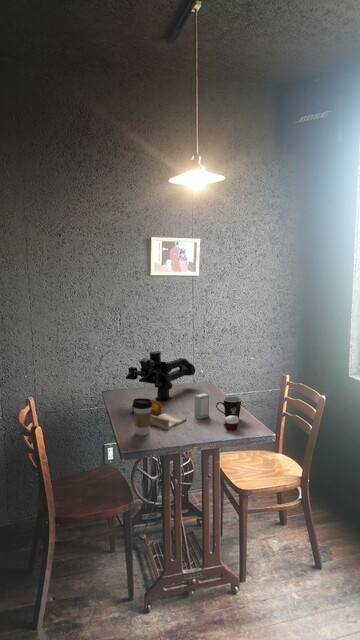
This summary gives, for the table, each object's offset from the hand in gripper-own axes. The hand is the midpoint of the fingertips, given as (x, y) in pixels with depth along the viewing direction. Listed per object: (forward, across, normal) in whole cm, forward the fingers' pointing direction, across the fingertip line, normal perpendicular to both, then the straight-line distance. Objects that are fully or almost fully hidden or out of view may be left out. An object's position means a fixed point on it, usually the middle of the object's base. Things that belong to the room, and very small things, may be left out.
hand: (132, 379), depth 213 cm
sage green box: (-12, +33, +17) cm, 40 cm away
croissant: (-2, +7, +17) cm, 19 cm away
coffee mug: (-18, +46, +18) cm, 52 cm away
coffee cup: (+20, +23, +16) cm, 34 cm away
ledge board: (+3, +23, +17) cm, 29 cm away
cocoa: (-7, +53, +17) cm, 56 cm away
